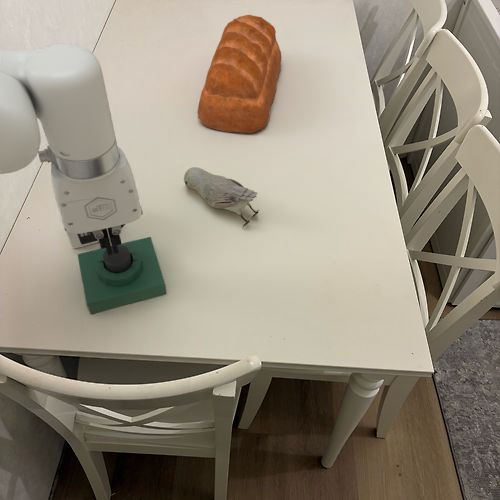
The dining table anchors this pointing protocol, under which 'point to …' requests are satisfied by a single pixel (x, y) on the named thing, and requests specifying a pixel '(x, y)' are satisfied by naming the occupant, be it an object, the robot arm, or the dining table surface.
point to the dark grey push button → (118, 260)
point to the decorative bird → (220, 191)
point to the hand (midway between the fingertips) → (111, 247)
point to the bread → (241, 77)
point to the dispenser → (121, 277)
